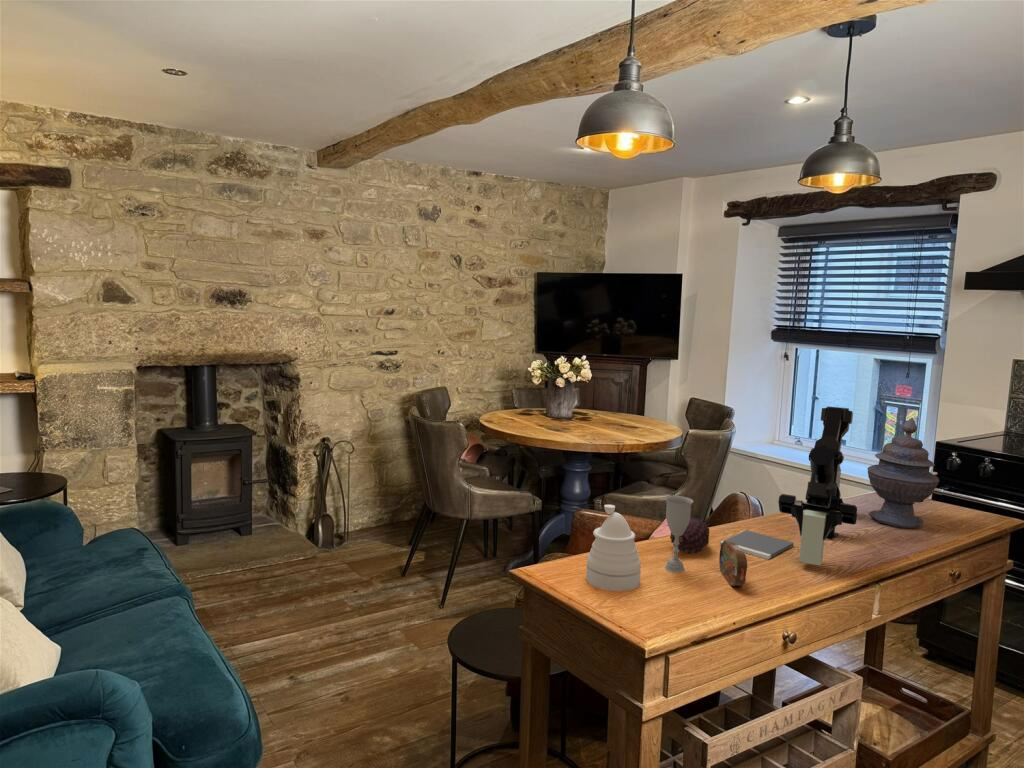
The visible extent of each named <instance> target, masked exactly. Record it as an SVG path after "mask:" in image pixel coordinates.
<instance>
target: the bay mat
mask: <svg viewBox="0 0 1024 768" xmlns="http://www.w3.org/2000/svg"><path fill="white" fill-rule="evenodd" d="M724 541H727V542H734V543H736V544H737V545H738V547H739V548H740V549H741V550H742V551H743V552H744V554H748V555H751V556H754V557H758V558H760V559H764V560H769V559H772V558H774V557H776V556H777V554H778V555H779V554H781V553H783V552H785V551H787V550H788V548H789V549H790V547H791V548H792V547H794V542H793V541H789V540H784V539H782V538H777V537H773V536H770V535H766V534H762V533H758V532H755V531H752V530H748V529H747V530H744V531H742V532H739V533H737V534H735V535H733V536H730V537H728V538H726V539H724V540H721V541H720V542H719V546H720V547H721V545H722V543H723V542H724Z"/></svg>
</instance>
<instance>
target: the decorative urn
mask: <svg viewBox="0 0 1024 768" xmlns="http://www.w3.org/2000/svg"><path fill="white" fill-rule="evenodd" d="M901 429H902V431H904V433H905V434H904V435H897V436H894V437H892V438H891V442H888V443H885V445H883V447H882V451H881V452H878V453H875V454H874V457H875V458H876V459H878V460H879V461H878V464H873V465H870V466H868V467H867V475H868V476H867V477H868V479H869V484H870V486H871V487H872V489H873V490H874V492H875V493H876V494H877V496H878V497H879V498H880V499H883V500H884V501H883V504H882V506H881V508H880V509H878V510H871V511H868V515H869V516H870V517H871V518H872V519H874V520H875V521H876V522H878V523H880V524H884V525H889V526H892V527H895V528H899V529H916V528H919V527H921V526H922V525H923V524H924V522H925V521H924V519H923V518H921V517H920V516H916V515H915V511H914V510H915V509H914V504H916V503H918V504H919V503H923V502H924V501H925V499H928V498H929V497H930V496H932V495H933V494H934V491H935V489H936V488H937V486H938V485H939V483H940V479H939V477H938V476H937V475H935V474H933V473H931V472H930V469H931V467H935V465H936V464H935V463H934V462H933V461H932V460H930V459H929V456H930V455H929V454H930V453H929V452H928V450H927V449H926V448H924V447H923V446H924V444H923V441H922V440H920V439H918V438H914V437H912V434H914V433H916V432H917V430H918V425H917V423H916V422H915V420H914V417H911V418H909V419H908V420H906V421H905V422H904V423H902V425H901Z"/></svg>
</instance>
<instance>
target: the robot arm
mask: <svg viewBox="0 0 1024 768" xmlns="http://www.w3.org/2000/svg"><path fill="white" fill-rule="evenodd" d="M853 417H854V412H853V411H852V410H850V408H849V407H848V408H847V407H838V406H828V405H827V406H826V407H823V408H821V413H820V421H822V425H823V429H822V434H821V438H819V439H817V440H816V441H815V444H814V446H813V447H812V448H811V449H810V452H809V454H808V461H809V464H810V471H811V474H810V481H808V482H807V489H806V491H805V492H806V493H805V500H806V502H805V501H803V500H800V499H797V497H796V495H792V494H785V493H781V494H780V495H779V497H778V508H779V509H778V510H779V512H780V513H783V514H788V515H791V517H792V518H795V520H796V522H797V525H798V530H799V535H800V537H801V535H802V523H803V514H804V511H805V510H811V511H817V512H824V513H827V515H826V526H825V530H824V535H823V540H824V541H825V540H827V539H828V540H833V539H834V538H837V537H838V536H839V534H840V533H839V532H836V527H837V526H842V525H843V524H847V525H852V526H854V525H856V524H857V519H858V518H857V517H858V507H857V506H856V505H855V504H852V503H851V504H850V503H845V502H844V501H843V498H842V497H841V490H840V487H839V488H838V486H837V483H836V482H837V474H838V466H839V465H840V466H841V464H842V463H843V462H844V461H845V459H844V458H845V456H844V455H843V452H842V451H841V447H842V441H843V438H844V436H845V435H846V434H847V433H848V432H849V430H850V425H852V424H853Z"/></svg>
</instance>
